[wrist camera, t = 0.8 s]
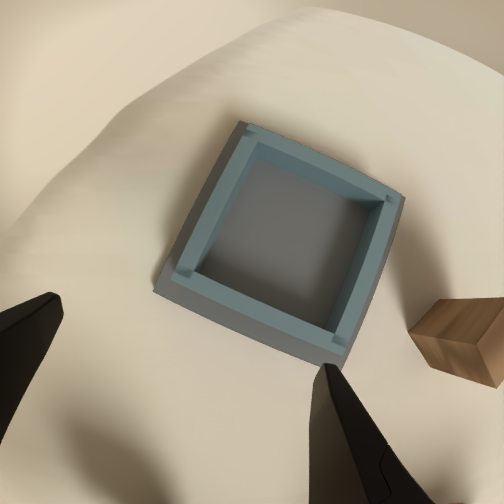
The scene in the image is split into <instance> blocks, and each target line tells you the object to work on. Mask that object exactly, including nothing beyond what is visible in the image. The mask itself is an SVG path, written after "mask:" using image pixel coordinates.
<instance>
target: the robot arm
mask: <svg viewBox="0 0 504 504" xmlns="http://www.w3.org/2000/svg"><path fill="white" fill-rule="evenodd" d="M63 315H64V312H63V307H62V303H61V298H60V296H59V295H58V294H56V293H53V292H47V293H45V294H42V295H40V296H38V297H35V298H33V299H30V300H28V301H26V302H23V303H21V304H19V305H16V306H14V307H12V308H10V309H7V310H5V311H3V312H0V444H1V442H2V441H1V440H2V439H3V437H4V435H5V433H6V430H7V428H8V426H9V424H10V422H11V420H12V418H13V415H14V413H15V411H16V409H17V407H18V405H19V403H20V401H21V399H22V397H23V395H24V393H25V392H26V390H27V388H28V386H29V384H30V382H31V380H32V378H33V377H34V375H35V373H36V371H37V369H38V367H39V366H40V364H41V362H42V360H43V359H44V357H45V355H46V353H47V351H48V349H49V347H50V345H51V343H52V340H53V338H54V336H55V334H56V332H57V330H58V328H59V326H60V323H61V321H62V319H63ZM309 504H435V503H434V502H433V501H432V500H431V499H430V498H429V496H428V495H427V494H426V493H425V492H424V490H423V489H422V488H421V487H420V486H419V484H418V483H417V482H416V481H415V480H414V478H413V477H412V476H411V475H410V474H409V472H408V471H407V470H406V468H405V467H404V466H403V465H402V463H401V462H400V460H399V459H398V457H397V456H396V455H395V453H394V452H393V450H392V448H391V447H390V445H388V443H387V441H386V439H385V438H384V436H383V435H382V433H381V432H380V430H379V429H378V427H377V426H376V424H375V423H374V421H373V420H372V418H371V417H370V415H369V414H368V412H367V410H366V409H365V407H364V406H363V404H362V403H361V401H360V400H359V398H358V397H357V395H356V394H355V392H354V391H353V389H352V388H351V386H350V385H349V383H348V382H347V380H346V379H345V377H344V376H343V374H342V373H341V371H340V370H339V368H338V367H337V365H335V364H331V363H323V364H322V366H321V367H320V369H319V371H318V373H317V375H316V377H315V379H314V382H313V391H312V401H311V411H310V421H309Z"/></svg>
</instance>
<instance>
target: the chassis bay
mask: <svg viewBox="0 0 504 504" xmlns="http://www.w3.org/2000/svg"><path fill="white" fill-rule="evenodd" d="M404 202H405V197H403V196H402V195H401V194H400V193H398V192H396V191H394V190H393V189H391V188H389V187H387V186H385V185H383V184H381V183H380V182H378V181H376V180H374V179H372V178H370V177H368V176H366V175H364V174H362V173H360V172H358V171H357V170H355V169H353V168H351V167H349V166H346V165H344V164H342V163H340V162H338V161H336V160H334V159H332V158H330V157H328V156H326V155H324V154H321V153H319V152H317V151H315V150H313V149H310V148H308V147H306V146H304V145H301V144H299V143H297V142H295V141H292V140H290V139H288V138H285V137H283V136H280V135H278V134H276V133H273V132H271V131H268V130H266V129H263V128H261V127H258V126H256V125H253V124H251V123H249V124H248V123H245V122H243V121H239V122H238V124H237V126H236V128H235V129H234V131H233V133H232V135H231V136H230V138H229V140H228V142H227V144H226V145H225V147H224V149H223V151H222V153H221V154H220V156H219V158H218V160H217V162H216V164H215V165H214V167H213V169H212V171H211V173H210V175H209V177H208V179H207V180H206V182H205V184H204V186H203V188H202V190H201V192H200V194H199V196H198V198H197V200H196V202H195V204H194V205H193V207H192V209H191V211H190V213H189V215H188V217H187V219H186V221H185V223H184V225H183V227H182V230H181V232H180V234H179V236H178V238H177V240H176V242H175V244H174V246H173V248H172V250H171V252H170V254H169V257H168V259H167V261H166V263H165V265H164V267H163V269H162V272H161V274H160V276H159V278H158V280H157V283H156V285H155V287H154V289H153V292H154V293H156V294H158V295H160V296H162V297H164V298H166V299H168V300H170V301H172V302H174V303H176V304H178V305H180V306H182V307H184V308H186V309H188V310H190V311H193V312H195V313H197V314H199V315H201V316H203V317H205V318H207V319H209V320H211V321H214V322H216V323H218V324H220V325H222V326H224V327H227V328H229V329H231V330H233V331H235V332H238V333H240V334H242V335H244V336H247V337H249V338H251V339H254V340H256V341H258V342H260V343H263V344H265V345H267V346H270V347H272V348H275V349H277V350H279V351H282V352H284V353H287V354H289V355H291V356H294V357H296V358H299V359H301V360H304V361H306V362H309V363H312V364H314V365H317V366H319V367H321V366H322V364H323V363H331V364H335V365H337V367H338V368H339V370H340V371H341V370H342V368H343V366H344V364H345V362H346V359H347V357H348V355H349V353H350V351H351V348H352V346H353V344H354V342H355V339H356V337H357V335H358V332H359V330H360V328H361V325H362V323H363V320H364V318H365V315H366V313H367V311H368V308H369V306H370V303H371V300H372V298H373V295H374V293H375V290H376V287H377V285H378V282H379V279H380V276H381V274H382V271H383V268H384V265H385V262H386V259H387V257H388V254H389V251H390V248H391V245H392V241H393V238H394V235H395V232H396V229H397V226H398V222H399V219H400V216H401V212H402V209H403V205H404Z"/></svg>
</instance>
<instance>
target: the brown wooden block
mask: <svg viewBox="0 0 504 504" xmlns="http://www.w3.org/2000/svg"><path fill="white" fill-rule="evenodd" d="M408 334H409V335H410V337H411V338H412V340H413V341H414V343H415V344H416V346H417V347H418V349H419V350H420V352H421V354H422V355H423V357H424V358H425V360H426V361H427V363H428V365H429V366H430V367H431V368H434V369H437V370H440V371H443V372H446V373H449V374H452V375H455V376H458V377H461V378H464V379H467V380H471V381H474V382H477V383H480V384H483V385H486V386H490V387H493V388H496V389H497V388H498V387H499V385H500V384H501V382H502V381H503V380H504V297H500V298H473V299H439V300H438V301H437V302H436V303H435V305H434V306H433V307H432V308H431V309H430V310H429V311H428V312H427V313H426V314H425V315H424V316H423V318H422V319H421V320H420V321H419V322H418V323H417V324H416V325H415V326H414V327H413V328H412V329H411V330H410V331H409V332H408Z"/></svg>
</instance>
